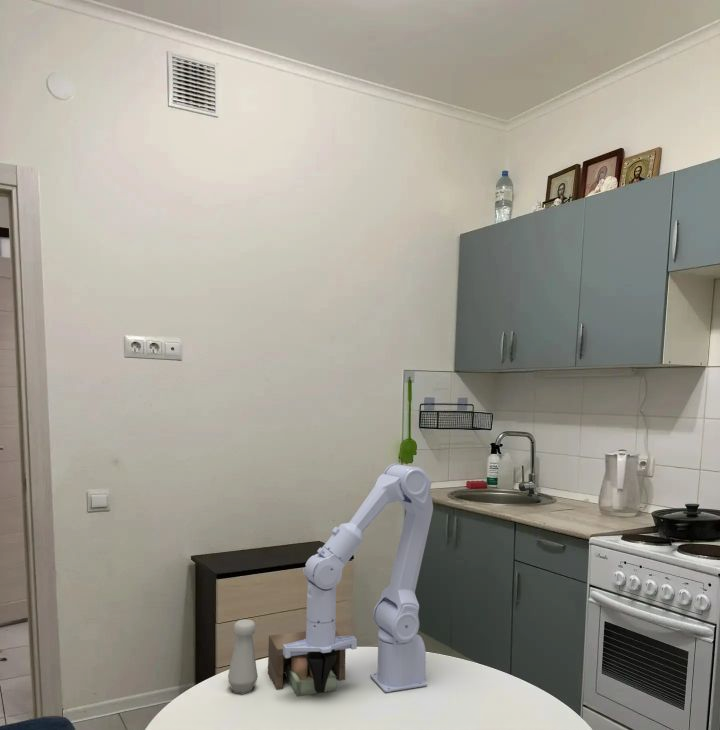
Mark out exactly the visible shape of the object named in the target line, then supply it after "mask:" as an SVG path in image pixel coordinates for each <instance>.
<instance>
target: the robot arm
mask: <svg viewBox="0 0 720 730" xmlns="http://www.w3.org/2000/svg"><path fill="white" fill-rule="evenodd" d="M432 482H433V481H432V480H431V478H430V477H429V476H428V474H427V472H426V471H425V470H424V469H422V468H421V467H419V466H410V465H409V466H408V465H402V464H401V463H392V464H390V465H388V466H387V467H386V468H385V469H384V470H383V473H382V474H381V475H379V476H378V477H377V480H376V483H375V485H374V486H373V488H372V489H371V490H370V492H369V494H368V495H367V497H366V498H365V500H364V501H363V502H362V504H361V505H360V506H359V508H358V509H357V511H356V512H355V514H354V515H353V517H351V519H350V520H349V522H346V523H340V525H338V526H334V528H333V529H332V530H331V533H332V534H331V536H330V537H329V538H328V539H327V541H326V542H325V543H324V544H323V546H321V547H319V548H318V550H316V552H317V553H316V554H314V555H312V556H310V557H309V558H308V559H307V561H306V563H305V567H303V568H302V573H303V576H304V578H305V579H306V580H307V590H306V591H307V592H306V593H307V595H306V620H305V621H306V627H305V629H306V630H305V631H306V639H304V640H300V641H297V642H293V643H289V644H283V655H284V657H285V658H290V657H291V656H296V655H304V654H305V656H306V658H307V661H308V663H309V666H310V669H311V672H312V676H313V680H314V687H315V690H316V692H317V693H316V694H322V693H325V692H324V691H325V686H326V682H327V679H328V676H329V673H330V671H332V670H331V669H332V667H333V665H334V663H335V661H336V654H335V650H342V649H346V650H349V649H351V650H357V648H358V647H357V646H358V643H357V642H358V641H357V640H358V639H357V638H356V637H355V636H354V635H350V636H345V635H343V636H341V635H340V636H335V630H336V621H337V620H336V619H337V617H336V613H337V611H336V609H337V585H338V584H339V583H340V582H341V580H342V578H343V577H342V576H343V569H344V568H345V566H346V565H347V564H348V562H350V559H351V558H352V557H353V555H354V554H355V553H356V552H357V551H358V549H359V548H360V546H361V545H362V544H363V541H364V540H363V533H364V532H365V531H366V530H367V528H368V527H369V526H370V525H371V524H372V523H373V522H374V520H375V519H376V518H377V517H378V516H379V515H380V514H381V513H382V511H383V510H384V509H385V508H386V507H387V505H388V504H389V505H390V504H393V503H397V502H400V503H401V505H402V507H403V508H404V510H405V515H404V521H403V525H402V529H401V534H400V537H399V542H398V546H397V551H396V555H395V560H394V564H393V568H392V573H391V577H390V582H389V585H388V586H386V587H385V589H383V590H382V592H381V596H380V598H379V600H378V602H377V603H376V605H375V606H374V609H373V613H372V616H373V617H372V618H373V621H374V623H375V625H376V626H377V629H378V630H377V631H378V633H377V643H378V644H377V672H375V673H374V672H373V673H370V678H371V679H372V681H374V682H375V683H376V685H378V687H379V688H380V689H381V690H382V691H383V692H385V693H389V692H390V693H391V692H395V691H396V692H397V691H401V690H408V689H409V690H410V689H413V688H420V687H427V685H428V683H427V681H426V673H427V672H426V667H427V666H426V663H427V662H426V660H427V659H426V658H427V657H426V655H427V653H426V652H427V651H426V647H425V642H424V640H423V638H422V637H421V635H420V634H418V632H419V629H420V619H419V610H420V604H419V601H418V599H417V596H416V589H417V584H418V580H419V574H420V570H421V566H422V563H423V557H424V552H425V548H426V544H427V538H428V534H429V529H430V525H431V521H432V518H433V517H432V516H433V512H434V503H433V499H432V493H431V486H432Z"/></svg>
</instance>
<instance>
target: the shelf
mask: <svg viewBox="0 0 720 730" xmlns="http://www.w3.org/2000/svg"><path fill="white" fill-rule="evenodd" d="M335 636H341V634H340V633H339V632H338V631H336V629H335ZM304 639H306V630H305V631H299V632H290V633H288V632H287V633H279V634H272V635H268V648H267V649H268V650H267V651H268V655H267V659H268V660H267V675H268V676H269V679H270V680H271V682H272V685H274V688H275V690H276V691H279V690H283V689H284V688H283V683H284V682H283V681H284V679H283V678H284V674H286V665H288V664H291V657H290V658H285V657H284V655H283V644H289V643H293V642H297V641H300V640H304ZM346 651H347V649H342V650H335V654H336V661H335V663H334V665H333V667H332V669H331V671H332V672H333V674H334V675H335V676H337V677H336V679H338V680H339V681H345V680H346Z"/></svg>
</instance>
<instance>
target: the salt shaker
mask: <svg viewBox="0 0 720 730" xmlns="http://www.w3.org/2000/svg"><path fill="white" fill-rule="evenodd" d="M233 633H234V635H235V640H234V645H233V650H232V653H231V655H232V656H231V660H230V665H229V669H228V674H227V675H228V676H227V679H228V680H227V681H228V683H229V686H230V687H231V690H232V691H233V693H235V694H240V693H243V695H244V694H247V693H250V691H251V692H252V690H253V689H254V686H255V684H256V682H257V681H258V669H257V662H256V654H255V649H254V648H255V646H254V639H253V635H254V634H255V633H256V623H255V621H253V620H251V619H245V618H244V619H239V620H238V621H236V622H235V623H234V624H233Z"/></svg>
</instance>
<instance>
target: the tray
mask: <svg viewBox="0 0 720 730" xmlns="http://www.w3.org/2000/svg"><path fill="white" fill-rule="evenodd" d="M285 679H286V681H287V682H288V684H289V685H290V687H291V689H292V691H294V694H295V695H296V696H297V697H302V696H306V695H313V694H315V695H316V694H318V693H317V692H316V690H315V687H314V680H313V676H312V672H311V669H310V666H309V663H308V661H307V658H306V656H305V654H304V655H296V656H291V664H288V665H286V673H285ZM327 691H328V692H333V691H337V677H336V675H335V674H334V673H333V672H332V670H331V671H330V673H329V676H328V679H327V682H326V686H325V691H324V692H323V693H327Z"/></svg>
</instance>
